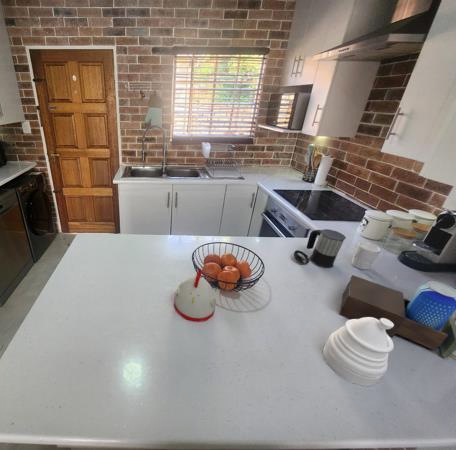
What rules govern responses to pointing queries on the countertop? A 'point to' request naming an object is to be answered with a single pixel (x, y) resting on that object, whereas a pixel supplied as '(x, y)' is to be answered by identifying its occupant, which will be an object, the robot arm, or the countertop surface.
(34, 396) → the countertop surface
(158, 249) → the countertop surface
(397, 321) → the cabinet
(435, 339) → the drawer
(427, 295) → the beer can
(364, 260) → the white cup
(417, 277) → the countertop surface
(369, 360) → the honey pot
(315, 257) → the milk frother
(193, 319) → the white and red dome
